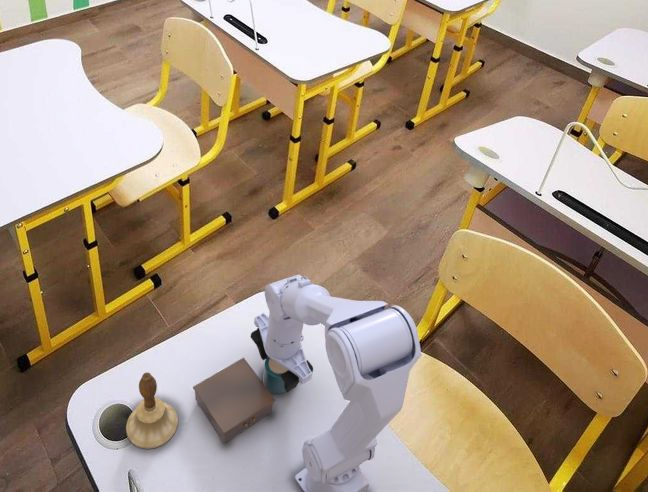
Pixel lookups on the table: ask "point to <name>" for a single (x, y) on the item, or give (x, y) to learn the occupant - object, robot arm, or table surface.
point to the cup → (273, 376)
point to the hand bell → (151, 418)
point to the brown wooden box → (233, 399)
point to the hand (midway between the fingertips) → (278, 372)
